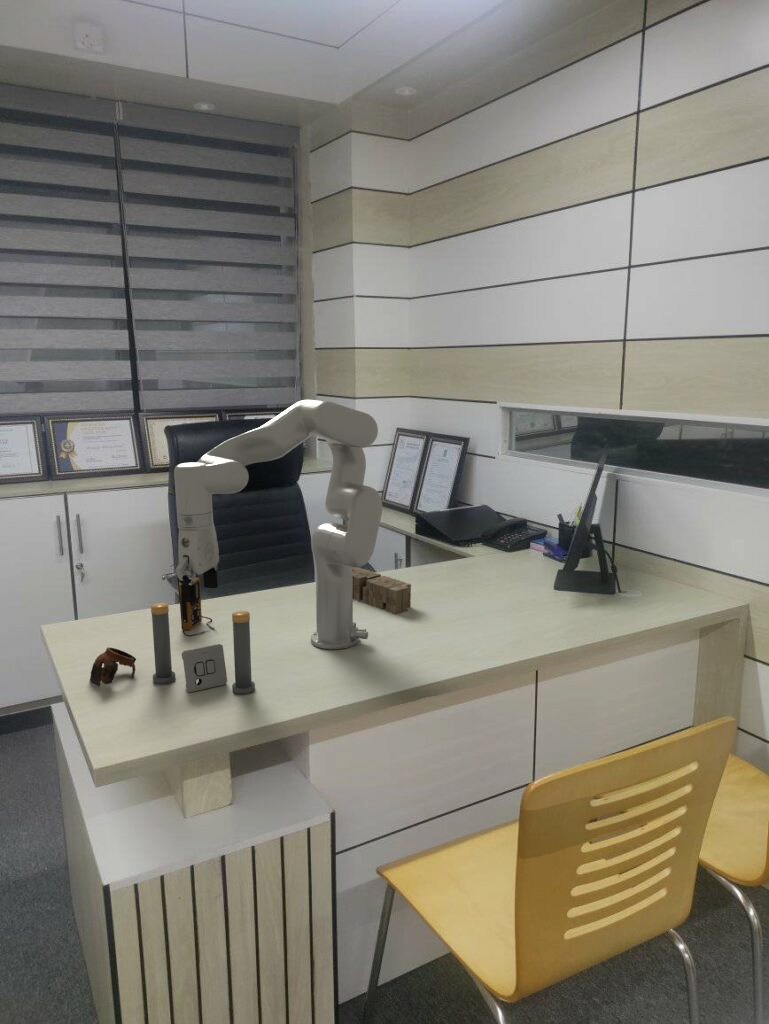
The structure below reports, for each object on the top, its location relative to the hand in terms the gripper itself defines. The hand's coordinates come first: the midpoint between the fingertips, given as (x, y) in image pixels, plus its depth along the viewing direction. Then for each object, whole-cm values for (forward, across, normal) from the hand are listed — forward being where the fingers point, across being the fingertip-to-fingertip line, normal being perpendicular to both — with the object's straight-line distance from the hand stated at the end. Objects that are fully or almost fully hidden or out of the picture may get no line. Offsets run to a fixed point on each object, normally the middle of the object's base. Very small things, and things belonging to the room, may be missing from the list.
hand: (200, 594), depth 165 cm
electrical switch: (+22, -1, 0) cm, 22 cm away
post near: (+22, -1, -10) cm, 24 cm away
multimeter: (+22, +32, +18) cm, 43 cm away
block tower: (+23, +67, -20) cm, 74 cm away
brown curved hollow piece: (+22, -4, +22) cm, 31 cm away
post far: (+21, -1, +10) cm, 24 cm away
